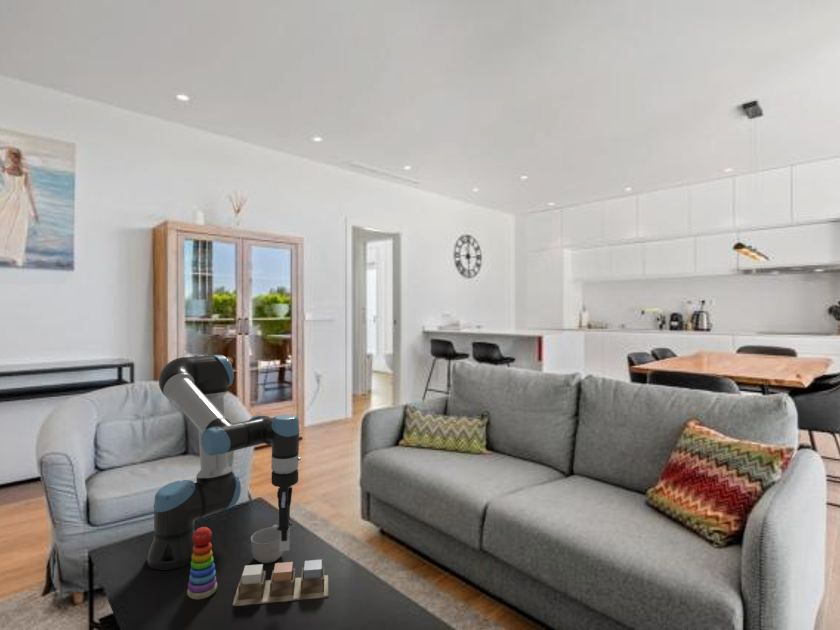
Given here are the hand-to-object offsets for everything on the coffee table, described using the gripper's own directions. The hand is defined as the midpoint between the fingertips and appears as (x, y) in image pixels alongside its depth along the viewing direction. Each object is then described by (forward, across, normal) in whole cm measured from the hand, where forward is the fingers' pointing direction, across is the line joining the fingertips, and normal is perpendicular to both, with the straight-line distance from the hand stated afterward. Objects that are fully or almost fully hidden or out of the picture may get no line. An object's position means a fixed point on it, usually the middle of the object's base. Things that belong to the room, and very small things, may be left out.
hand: (284, 549), depth 138 cm
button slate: (+10, 0, -8) cm, 13 cm away
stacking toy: (+12, +3, +23) cm, 26 cm away
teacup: (+12, +20, +6) cm, 24 cm away
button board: (+12, 0, 0) cm, 12 cm away
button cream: (+9, 0, +9) cm, 13 cm away
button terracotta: (+9, 0, 0) cm, 9 cm away
